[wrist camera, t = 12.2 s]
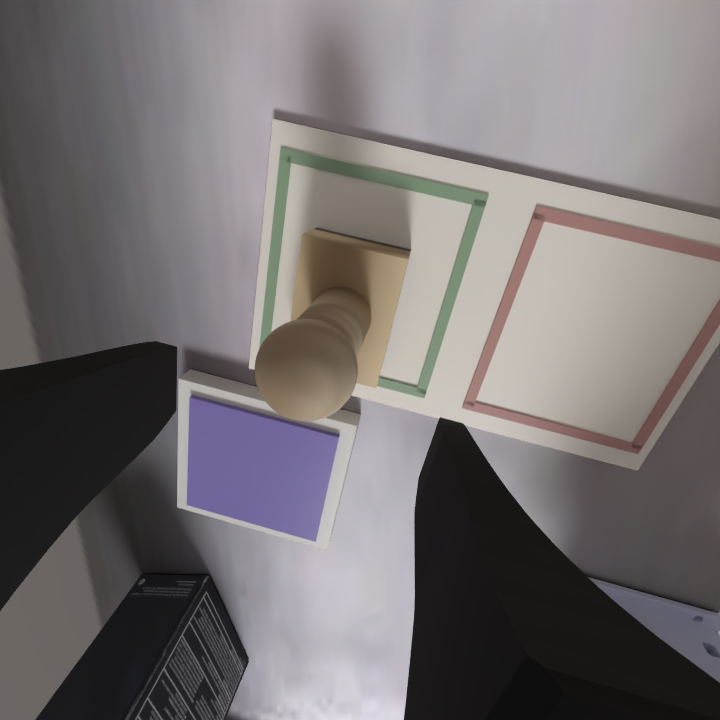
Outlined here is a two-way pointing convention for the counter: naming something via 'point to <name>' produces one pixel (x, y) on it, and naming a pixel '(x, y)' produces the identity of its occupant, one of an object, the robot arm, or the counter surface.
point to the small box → (157, 658)
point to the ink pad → (259, 460)
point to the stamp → (332, 325)
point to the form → (506, 291)
